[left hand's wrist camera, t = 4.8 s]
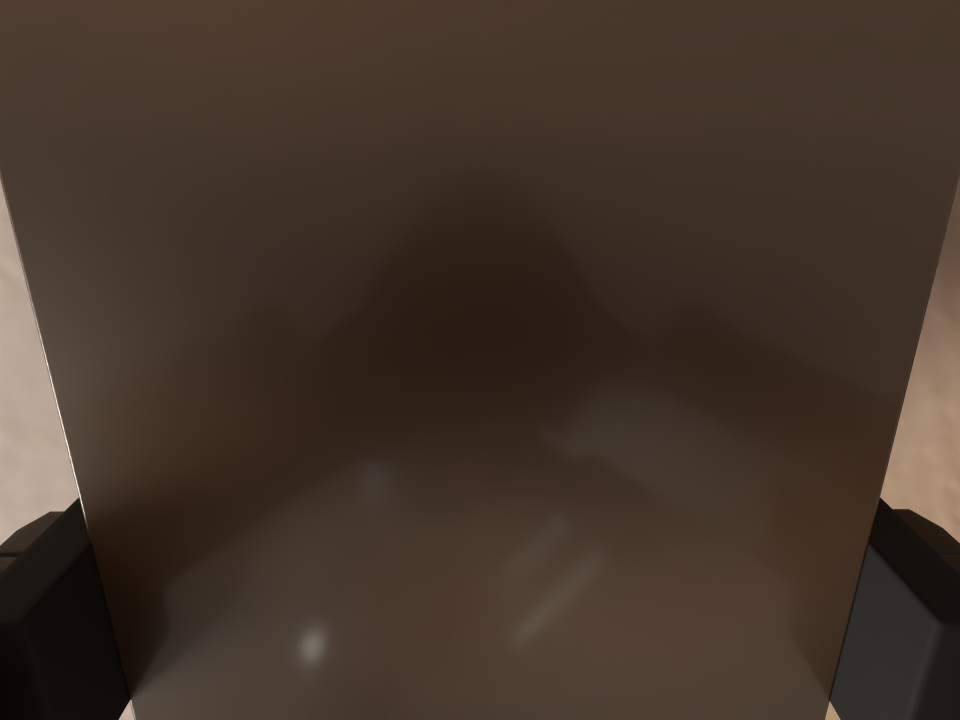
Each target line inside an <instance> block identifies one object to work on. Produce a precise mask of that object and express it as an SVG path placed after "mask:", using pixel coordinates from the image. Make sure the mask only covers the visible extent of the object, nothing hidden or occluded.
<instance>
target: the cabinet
mask: <svg viewBox="0 0 960 720" xmlns="http://www.w3.org/2000/svg"><path fill="white" fill-rule="evenodd" d="M959 175H960V0H0V179H1V183H2V188H3V192H4V196H5V200H6V204H7V208H8V212H9V216H10V220H11V224H12V228H13V232H14V236H15V240H16V244H17V248H18V252H19V256H20V260H21V264H22V268H23V272H24V276H25V280H26V284H27V288H28V292H29V296H30V300H31V305H32V309H33V313H34V317H35V321H36V325H37V329H38V333H39V337H40V341H41V345H42V349H43V353H44V357H45V361H46V365H47V369H48V373H49V377H50V381H51V385H52V389H53V393H54V397H55V401H56V405H57V409H58V413H59V418H60V422H61V426H62V430H63V434H64V438H65V442H66V446H67V450H68V454H69V458H70V462H71V466H72V470H73V474H74V478H75V482H76V486H77V490H78V494H79V498H80V502H81V506H82V510H83V514H84V518H85V522H86V526H87V531H88V535H89V539H90V543H91V547H92V551H93V555H94V559H95V563H96V567H97V571H98V575H99V579H100V583H101V587H102V591H103V595H104V599H105V603H106V607H107V611H108V615H109V619H110V623H111V627H112V631H113V635H114V639H115V644H116V648H117V652H118V656H119V660H120V664H121V668H122V672H123V676H124V680H125V684H126V688H127V692H128V696H129V700H130V704H131V708H132V712H133V716H134V720H825V717H826V713H827V709H828V705H829V701H830V697H831V692H832V688H833V684H834V680H835V676H836V672H837V668H838V664H839V660H840V656H841V652H842V648H843V644H844V640H845V636H846V632H847V628H848V624H849V620H850V616H851V612H852V608H853V604H854V599H855V595H856V591H857V587H858V583H859V579H860V575H861V571H862V567H863V563H864V559H865V555H866V551H867V547H868V543H869V539H870V535H871V531H872V527H873V523H874V519H875V515H876V511H877V506H878V502H879V498H880V494H881V490H882V486H883V482H884V478H885V474H886V470H887V466H888V462H889V458H890V454H891V450H892V446H893V442H894V438H895V434H896V430H897V426H898V422H899V418H900V413H901V409H902V405H903V401H904V397H905V393H906V389H907V385H908V381H909V377H910V373H911V369H912V365H913V361H914V357H915V353H916V349H917V345H918V341H919V337H920V333H921V329H922V325H923V320H924V316H925V312H926V308H927V304H928V300H929V296H930V292H931V288H932V284H933V280H934V276H935V272H936V268H937V264H938V260H939V256H940V252H941V248H942V244H943V240H944V236H945V232H946V227H947V223H948V219H949V215H950V211H951V207H952V203H953V199H954V195H955V191H956V187H957V183H958V179H959Z"/></svg>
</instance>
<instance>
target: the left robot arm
mask: <svg viewBox="0 0 960 720" xmlns="http://www.w3.org/2000/svg"><path fill="white" fill-rule="evenodd" d="M129 701H130V700H129V696H128V692H127V688H126V684H125V680H124V676H123V672H122V668H121V664H120V660H119V656H118V652H117V648H116V644H115V639H114V635H113V631H112V627H111V623H110V619H109V615H108V611H107V607H106V603H105V599H104V595H103V591H102V587H101V583H100V579H99V575H98V571H97V567H96V563H95V559H94V555H93V551H92V547H91V543H90V539H89V535H88V531H87V526H86V522H85V518H84V514H83V510H82V506H81V502H80V498H78V499H77V500H76V501H75V502H74V503H73V504H72V505H71V506H70V507H69V508H68V509H67V510H66V511H65V512H49V513H47V514H45V515H44V516H42V517H40V518H38V519H37V520H35V521H33V522H31V523H29V524H28V525H26V526H24V527H22V528H21V529H19V530H17V531H16V532H15V533H14V534H13V535H12V536H10V537H9V538H8V539H7V540H6V541H5V542H4V543H3V544H2V545H1V546H0V720H119V718H120V716H121V714H122V713H123V711H124V709H125V708H126V706H127V704H128V703H129ZM830 702H831V704H832V705H833V707H834V709H835V711H836V712H837V714H838V716H839V717H840V719H841V720H960V543H959V542H958V541H956V540H955V539H954V538H953V537H952V536H951V535H950V534H949V533H948V532H947V531H945V530H944V529H943V528H942V527H940V526H938V525H936V524H935V523H933V522H931V521H929V520H927V519H926V518H924V517H922V516H920V515H919V514H917V513H915V512H913V511H911V510H910V509H892V508H891V507H890V506H889V505H887V504H886V503H885V502H884V501H883V500H882V499H881V498H879V502H878V506H877V511H876V515H875V519H874V523H873V527H872V531H871V535H870V539H869V543H868V547H867V551H866V555H865V559H864V563H863V567H862V571H861V575H860V579H859V583H858V587H857V591H856V595H855V599H854V604H853V608H852V612H851V616H850V620H849V624H848V628H847V632H846V636H845V640H844V644H843V648H842V652H841V656H840V660H839V664H838V668H837V672H836V676H835V680H834V684H833V688H832V692H831V697H830Z"/></svg>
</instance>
